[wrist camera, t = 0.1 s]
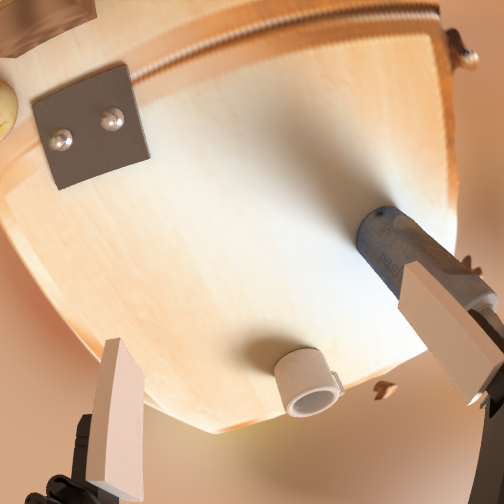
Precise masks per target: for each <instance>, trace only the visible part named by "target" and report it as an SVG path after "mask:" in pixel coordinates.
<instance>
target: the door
mask: <svg viewBox="0 0 504 504" xmlns="http://www.w3.org/2000/svg"><path fill="white" fill-rule="evenodd" d="M95 18H97V14H96V8H95V2H94V0H15V1H13V2H12V3H10V4H9V5H7V6H6V7H4V8H3V9H1V10H0V57H1V58H17V57H19V56H21V55H22V54H24V53H26V52H27V51H29V50H31V49H33V48H34V47H36V46H38V45H40V44H42V43H43V42H45V41H47V40H49V39H51V38H53V37H55V36H57V35H59V34H61V33H63V32H65V31H67V30H70V29H72V28H74V27H76V26H78V25H81V24H83V23H85V22H88V21H90V20H93V19H95Z"/></svg>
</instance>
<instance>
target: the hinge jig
mask: <svg viewBox="0 0 504 504" xmlns="http://www.w3.org/2000/svg"><path fill="white" fill-rule="evenodd" d="M32 107H33V111H34V115H35V119H36V123H37V126H38V130H39V133H40V137H41V140H42V143H43V147H44V150H45V153H46V156H47V159H48V162H49V165H50V168H51V171H52V174H53V177H54V180H55V182H56V185H57V188H58V190H61V189H64V188H66V187H69V186H71V185H74V184H77V183H79V182H82V181H85V180H87V179H90V178H93V177H96V176H98V175H101V174H104V173H107V172H110V171H113V170H116V169H119V168H122V167H125V166H128V165H131V164H134V163H137V162H141V161H144V160H147V159H150V157H151V156H150V152H149V149H148V145H147V142H146V138H145V134H144V130H143V127H142V123H141V119H140V115H139V111H138V107H137V103H136V99H135V95H134V91H133V87H132V83H131V78H130V74H129V69H128V65H123V66H120V67H117V68H114V69H112V70H109V71H106V72H104V73H101V74H98V75H96V76H93V77H91V78H88V79H86V80H84V81H81V82H79V83H77V84H74V85H72V86H70V87H68V88H66V89H63V90H61V91H59V92H57V93H55V94H53V95H51V96H49V97H47V98H45V99H43V100H41V101H39V102H37V103H35V104H33V105H32Z"/></svg>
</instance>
